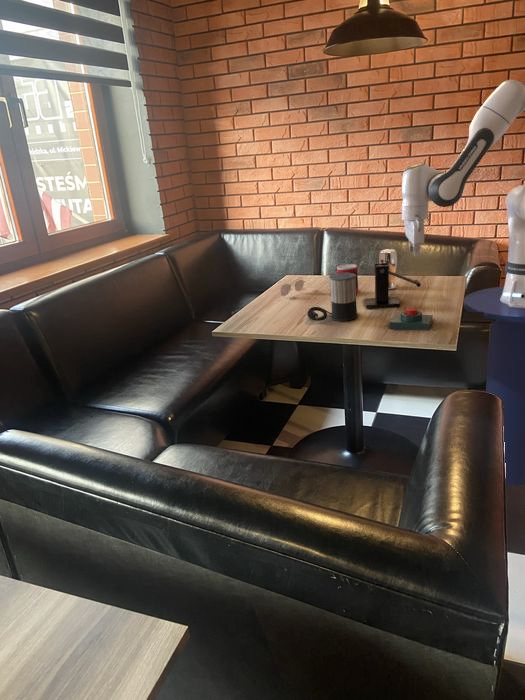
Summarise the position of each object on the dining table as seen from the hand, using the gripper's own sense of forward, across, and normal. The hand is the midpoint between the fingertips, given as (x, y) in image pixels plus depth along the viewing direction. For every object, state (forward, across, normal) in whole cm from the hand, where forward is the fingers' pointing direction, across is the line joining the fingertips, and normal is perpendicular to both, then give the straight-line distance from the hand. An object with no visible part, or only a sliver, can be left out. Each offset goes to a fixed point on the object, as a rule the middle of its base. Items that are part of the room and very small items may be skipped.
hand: (414, 253), depth 189 cm
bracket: (+18, 0, +11) cm, 21 cm away
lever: (+9, 0, +6) cm, 11 cm away
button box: (+18, -25, +4) cm, 31 cm away
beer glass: (+18, +23, +7) cm, 30 cm away
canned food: (+18, +18, +23) cm, 34 cm away
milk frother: (+18, -14, +30) cm, 37 cm away
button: (+14, -25, +4) cm, 29 cm away
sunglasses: (+18, +19, +43) cm, 51 cm away
